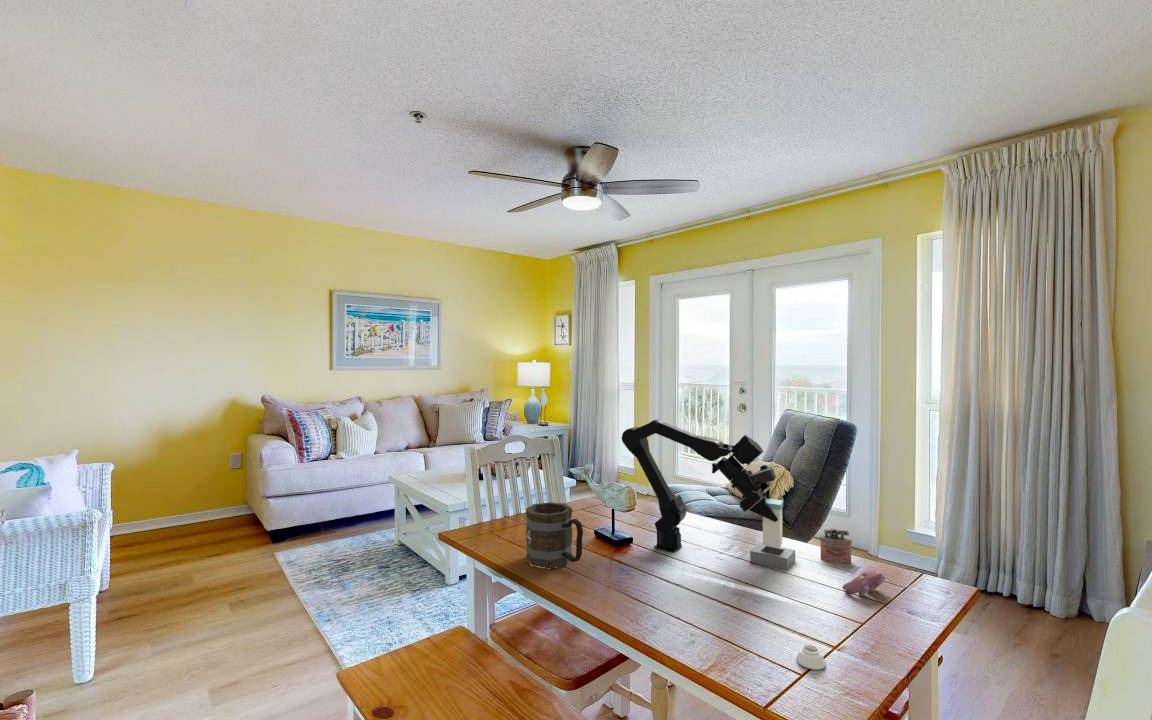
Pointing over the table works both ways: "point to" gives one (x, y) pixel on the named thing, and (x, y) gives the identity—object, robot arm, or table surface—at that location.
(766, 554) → the grey hollow block
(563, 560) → the mug
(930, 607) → the table surface
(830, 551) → the lighter
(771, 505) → the plug
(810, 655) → the white jar
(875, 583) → the video game controller
